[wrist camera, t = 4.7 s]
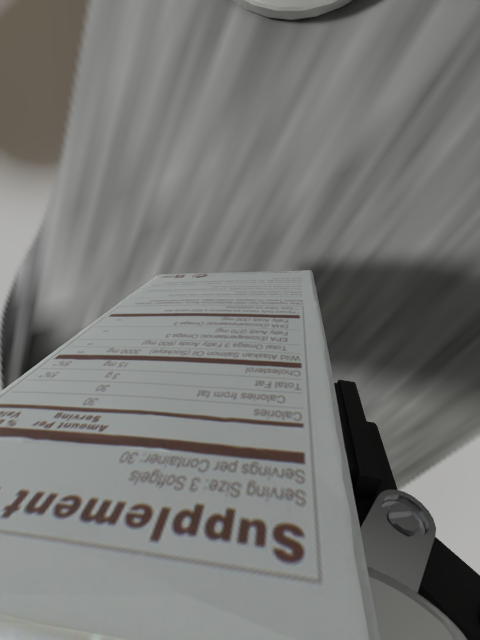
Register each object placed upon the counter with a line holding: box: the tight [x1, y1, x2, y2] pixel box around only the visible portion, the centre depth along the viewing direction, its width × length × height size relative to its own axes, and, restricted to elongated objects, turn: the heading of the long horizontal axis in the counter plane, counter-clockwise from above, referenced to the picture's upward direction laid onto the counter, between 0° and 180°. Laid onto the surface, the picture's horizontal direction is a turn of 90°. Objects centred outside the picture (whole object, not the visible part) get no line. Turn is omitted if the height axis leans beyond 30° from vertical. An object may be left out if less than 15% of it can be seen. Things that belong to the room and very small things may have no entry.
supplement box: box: [0, 270, 380, 640], centre depth 10 cm, size 7×7×13 cm
